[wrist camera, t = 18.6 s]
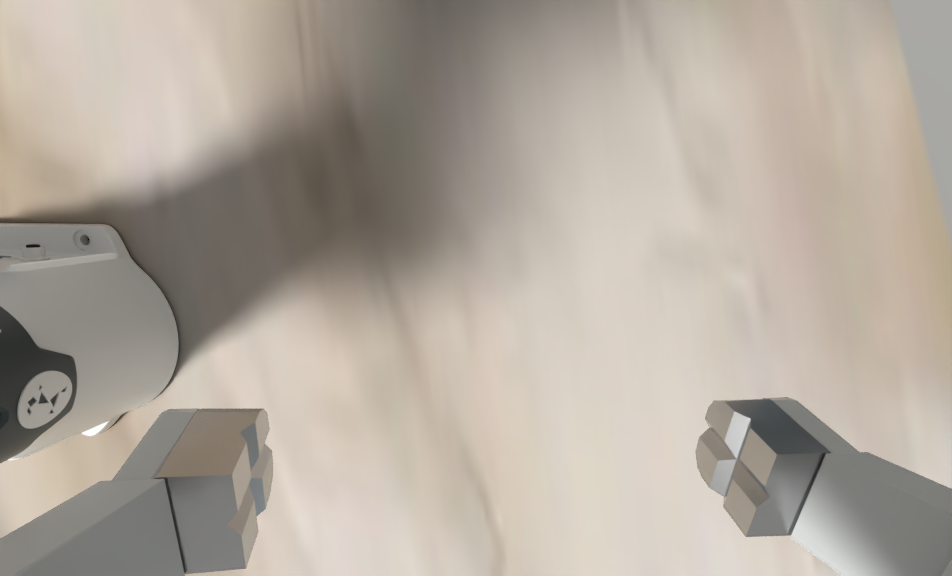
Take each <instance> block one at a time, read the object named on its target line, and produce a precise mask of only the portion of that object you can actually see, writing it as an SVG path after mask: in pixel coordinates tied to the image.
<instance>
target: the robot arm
mask: <svg viewBox="0 0 952 576" xmlns="http://www.w3.org/2000/svg"><path fill="white" fill-rule="evenodd" d="M88 237H89V239H90V243H89V242H88ZM178 348H179V341H178V331H177V326H176V322H175V318H174V315H173V313H172V310H171V308H170V306H169V303H168V302H167V300H166V298H165V296H164V295H163V293H162V292H161V290H160V289H159V287H158V286H157V285H156V284H155V282H154V281H153V280H152V279H151V278H150V277H149V276H148V275H147V274H146V273H145V272H144V271H143V270H142V269H141V268H140V267H139V266H138V265H137V264H136V263H135V262H134V261H133V260H132V259H131V257H130V255H129V253H128V251H127V249H126V247H125V245H124V243H123V241H122V239H121V238H120V236H119V235H118V233H117V232H116V231H115V230H114V229H113V228H112V227H111V226H109V225H105V224H45V223H0V463H2V462H4V461H6V460H18V459H22V458H24V457H27V456H29V455H32V454H34V453H36V452H39V451H41V450H44V449H46V448H48V447H51V446H53V445H55V444H58V443H60V442H62V441H65V440H67V439H69V438H71V437H74V436H76V435H78V434H83V435H86V436H95V435H97V434H100V433H102V432H104V431H106V430H108V429H109V428H110V427H111V426H112V425H113V424H114V423H115V422H116V421H117V419H118V418H119V417H120V416H121V415H122V414H124V413H126V412H128V411H130V410H133V409H135V408H138V407H141V406H143V405H145V404H147V403H148V402H150V401H151V400H153V399H154V398H155V397H156V396H158V395H159V394H160V393H161V392H162V390H163V389H164V388H165V387H166V385H167V384H168V382H169V381H170V379H171V377H172V375H173V372H174V370H175V366H176V363H177V358H178ZM705 420H706V422H707V424H708V426H709V429H707V430H706V431H705V432H704V433H703V434H702V435H701V436H700V437H699V440H698V444H697V448H696V459H697V467H698V469H699V471H700V474H701V476H702V478H703V479H704V481H705V482H706V484H707V485H708V486H709V488H711V489H712V490H714V491H716V492H717V493H719V494H720V495H722V496H724V504H723V507H724V508H725V510H726V511H727V512H728V514H729V515H730V516H731V518H732V519H733V520H734V522H735V523H736V524H737V526H738V527H739V528H740V530H741V531H742V532H743V534H744V535H745V536H746V537H755V536H786V535H791V537H790V538H791V539H793V540H794V541H795V542H797V543H798V544H799V545H801V546H802V547H803V548H805V549H806V550H808V551H809V552H810V553H812V554H813V555H814V556H816V557H817V558H819V559H820V560H821V561H823V562H824V563H825V564H827V565H828V566H830V567H831V568H832V569H834V570H835V571H836V572H838V573H839V574H841V575H842V576H952V489H951V488H948V487H946V486H944V485H941V484H939V483H937V482H934V481H932V480H930V479H928V478H925V477H923V476H921V475H918V474H916V473H914V472H912V471H909V470H907V469H905V468H902V467H900V466H898V465H895V464H893V463H891V462H889V461H886V460H884V459H882V458H879V457H877V456H875V455H873V454H870V453H868V452H859V451H857V450H856V449H855V448H854V447H853V446H851V445H850V444H849V443H848V442H847V441H845V440H844V439H843V438H842V437H840V436H839V435H838V434H837V433H836V432H834V431H833V430H832V429H831V428H829V427H828V426H827V425H826V424H825V423H823V422H822V421H821V420H820V419H819V418H817V417H816V416H815V415H814V414H812V413H811V412H810V411H809V410H808V409H806V408H805V407H804V406H803V405H801V404H800V403H799V402H798V401H796V400H794V399H791V398H788V397H782V398H763V399H755V400H719V401H713V403H712V404H711V405H710V406H709V407H708V410H707V414H706V417H705ZM268 432H269V422H268V415H267V412H266V411H265V410H264V409H169V410H166V411H164V412H162V413H161V414H160V415H159V417H158V418H157V420H156V421H155V422H154V424H153V425H152V426H151V428H150V429H149V430H148V432H147V433H146V435H145V436H144V437H143V439H142V440H141V441H140V443H139V444H138V445H137V447H136V448H135V450H134V451H133V452H132V454H131V455H130V456H129V458H128V459H127V461H126V462H125V463H124V465H123V466H122V467H121V469H120V470H119V471H118V473H117V474H116V476H115V477H114V478H113V480H112V481H100V482H98V483H97V484H95V485H93V486H91V487H90V488H88V489H86V490H84V491H83V492H81V493H79V494H77V495H76V496H74V497H72V498H70V499H69V500H67V501H65V502H64V503H62V504H60V505H58V506H57V507H55V508H53V509H51V510H50V511H48V512H46V513H44V514H43V515H41V516H39V517H37V518H36V519H34V520H32V521H30V522H29V523H27V524H25V525H24V526H22V527H20V528H18V529H17V530H15V531H13V532H11V533H10V534H8V535H6V536H4V537H3V538H1V539H0V576H185V574H192V573H203V572H214V571H225V570H235V569H246V567H247V564H248V561H249V558H250V555H251V552H252V549H253V546H254V543H255V540H256V537H257V534H258V525H257V517H256V516H258V515H259V514H260V513H261V512H262V511H263V510H265V509H266V506H267V502H268V499H269V496H270V491H271V484H272V478H273V458H272V450H271V449H270V448H269V447H268V446H267V445H266V444H265V440H266V438H267V435H268Z"/></svg>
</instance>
